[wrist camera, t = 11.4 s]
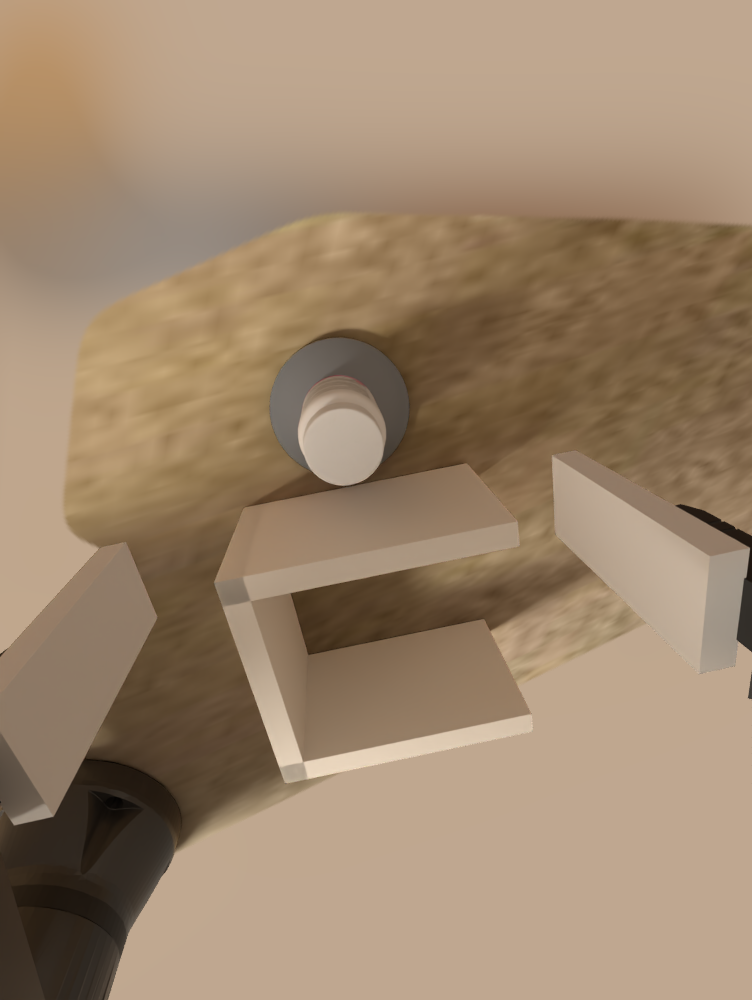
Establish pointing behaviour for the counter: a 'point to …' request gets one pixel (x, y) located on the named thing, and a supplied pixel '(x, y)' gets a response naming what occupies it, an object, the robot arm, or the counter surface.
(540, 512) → the counter surface
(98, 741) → the counter surface
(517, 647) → the counter surface
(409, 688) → the cubby
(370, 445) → the pill bottle
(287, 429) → the coaster
